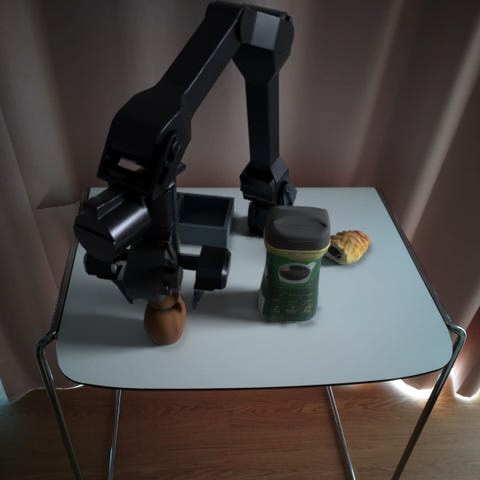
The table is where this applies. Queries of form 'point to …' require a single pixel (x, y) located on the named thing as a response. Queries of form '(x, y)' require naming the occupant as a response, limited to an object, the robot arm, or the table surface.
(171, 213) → the robot arm
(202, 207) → the tray
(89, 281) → the table surface
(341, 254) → the pastry
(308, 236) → the coffee jar
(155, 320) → the wooden figurine
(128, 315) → the table surface
